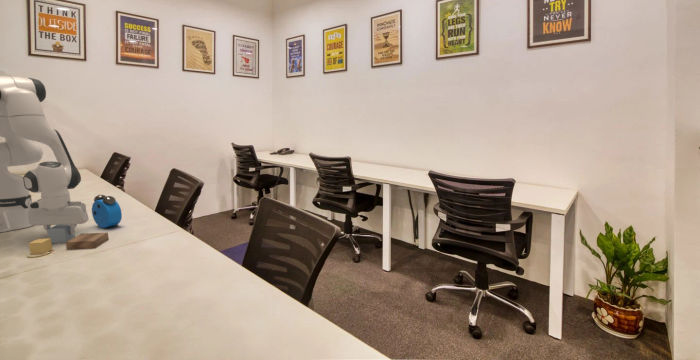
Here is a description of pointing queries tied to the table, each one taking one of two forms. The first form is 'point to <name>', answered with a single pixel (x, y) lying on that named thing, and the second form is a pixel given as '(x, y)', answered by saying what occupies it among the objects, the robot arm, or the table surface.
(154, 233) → the table surface
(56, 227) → the slate cube
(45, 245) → the mustard cube
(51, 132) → the robot arm
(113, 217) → the alarm clock
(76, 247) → the walnut base
